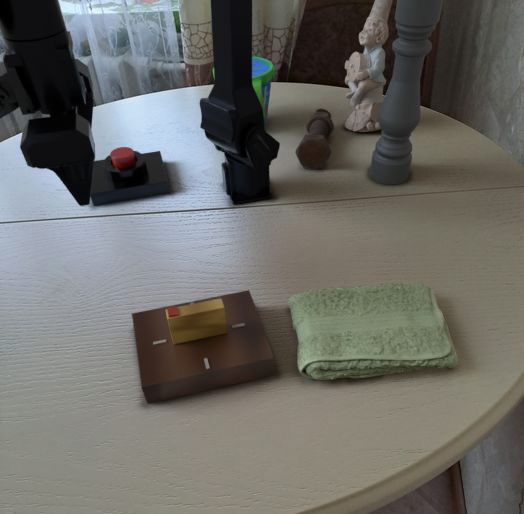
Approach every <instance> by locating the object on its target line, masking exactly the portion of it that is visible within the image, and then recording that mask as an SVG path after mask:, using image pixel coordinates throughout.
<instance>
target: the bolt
mask: <svg viewBox="0 0 524 514" xmlns="http://www.w3.org/2000/svg"><path fill="white" fill-rule="evenodd" d="M305 129H306V132H307V134H305V135H303V137H302V139H301V141H300V142H299V144H298V146H297V147H296V149H295V155H296V157H297V159H298V161H299V163H300V165H301V166H302V168H305V169H308V170H320V169H322V168H323V167H324V166H325V164H326V163H327V162H328V160H329V159H330V157H331V155H332V149H331V147H330V145H329V143H328V141H327V140H328V139H329V138H330V136H331V134H332V133H333V131H334V130H335V124H334V121H333V119H332V113H331V112H330V111H329V110H327V109H325V108H317V109H316V110H315V111H314V112H312V114H311V116H310V117H309V119H308V121H307V123H306V124H305Z"/></svg>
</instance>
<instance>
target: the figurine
mask: <svg viewBox="0 0 524 514" xmlns="http://www.w3.org/2000/svg"><path fill="white" fill-rule="evenodd" d="M393 1H394V0H374V2H373V5H372V8H371V11H370V13H369V15H368V17H367V18H366V20H365V23H364V26H363V30H361V32H359V34H358V41H359V45H361V46H363V47H364V49H363V52H362V53H361V52H358V51H354V52H353V53H352V54H351V55H350V57H349V59H348V60H345V63H344V69H345V70H346V75H345V78H344V83H345V85H346V86H348V88H349V89H350V90H351V91H350V92H348V93H346V94H345V98H346V99H349V101H350V102H349V104H350V106H351V107H354V108H355V109H354V110H353V111H352V112H351V113H350V114H349V116H348V117H347V119H346V120H345V123H344V127H345V129H347V130H349V131H352V132H358V133H365V132H375V131H381V130H382V129H381V128H380V125H379V121H378V116H379V110H380V108H381V105H382V103H383V100H384V98H385V95H384V86H385V85H386V84H387V79H386V78H385V76H384V74H383V72H384V71H385V69H386V68H385V67H386V63H385V62H386V61H385V60H386V51H385V50H384V49H383V45H384V44H385V43H386V41H387V40H388V38H389V26H388V20H389V16H390V11H391V9H392V4H393Z"/></svg>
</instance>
